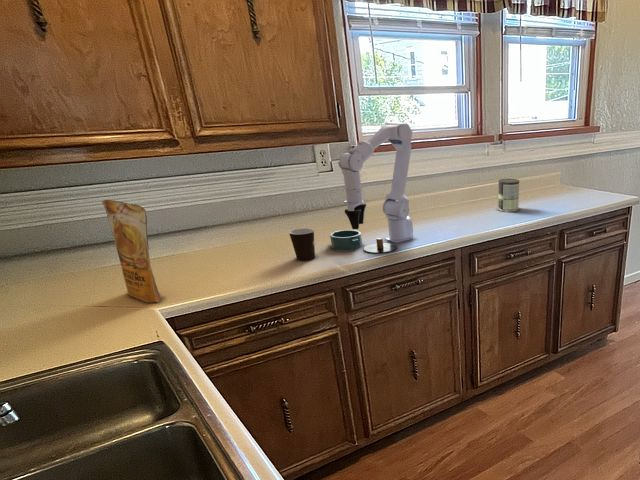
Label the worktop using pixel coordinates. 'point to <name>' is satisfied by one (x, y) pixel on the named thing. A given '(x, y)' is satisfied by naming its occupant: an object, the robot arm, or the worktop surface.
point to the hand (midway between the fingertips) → (357, 226)
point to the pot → (346, 240)
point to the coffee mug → (303, 243)
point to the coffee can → (508, 195)
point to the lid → (380, 247)
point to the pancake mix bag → (133, 248)
